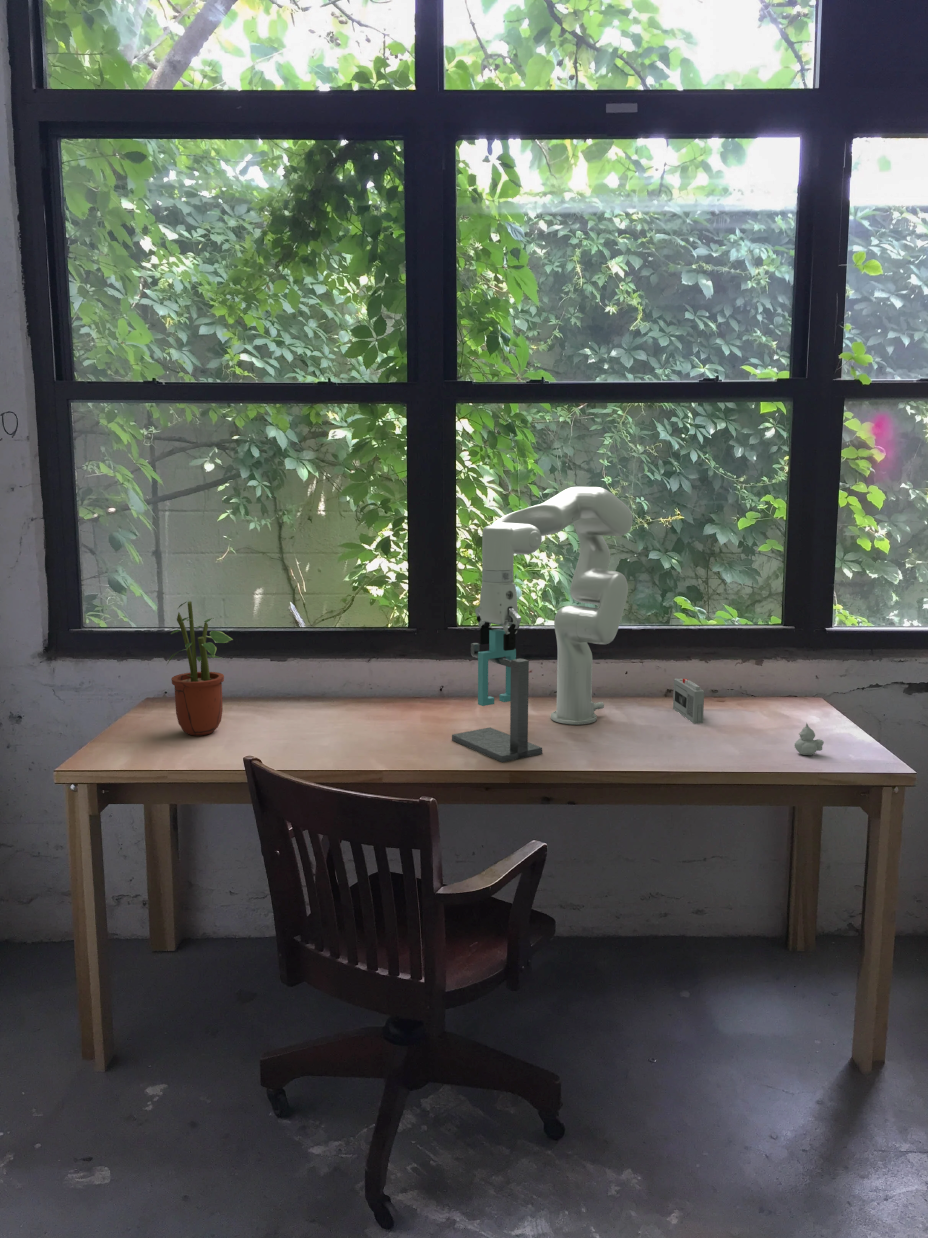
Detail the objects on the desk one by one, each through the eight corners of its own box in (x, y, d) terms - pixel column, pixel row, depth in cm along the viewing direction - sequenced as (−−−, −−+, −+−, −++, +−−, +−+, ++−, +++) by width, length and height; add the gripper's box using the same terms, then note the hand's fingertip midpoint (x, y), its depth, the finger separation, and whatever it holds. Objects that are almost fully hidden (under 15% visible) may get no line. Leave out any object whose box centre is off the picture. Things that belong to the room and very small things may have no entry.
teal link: (510, 698, 226) (510, 627, 223) (516, 700, 224) (516, 629, 221) (477, 704, 220) (477, 631, 217) (483, 706, 218) (483, 632, 215)
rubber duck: (792, 750, 221) (794, 719, 220) (820, 752, 220) (822, 720, 219) (796, 757, 216) (798, 725, 215) (825, 758, 215) (827, 726, 214)
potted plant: (211, 741, 228) (205, 604, 223) (155, 737, 231) (148, 602, 226) (242, 723, 245) (237, 595, 240) (189, 719, 248) (183, 593, 243)
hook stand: (490, 732, 236) (490, 640, 232) (542, 753, 218) (543, 653, 215) (451, 740, 229) (451, 645, 225) (502, 762, 212) (503, 659, 208)
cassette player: (672, 709, 261) (674, 675, 259) (681, 708, 261) (683, 675, 259) (693, 723, 245) (694, 687, 244) (702, 723, 246) (704, 687, 244)
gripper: (532, 579, 212) (531, 650, 215) (489, 572, 226) (489, 640, 229) (506, 581, 208) (506, 654, 211) (464, 574, 222) (464, 643, 225)
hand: (497, 646), depth 220 cm, fingers open, 9 cm apart
